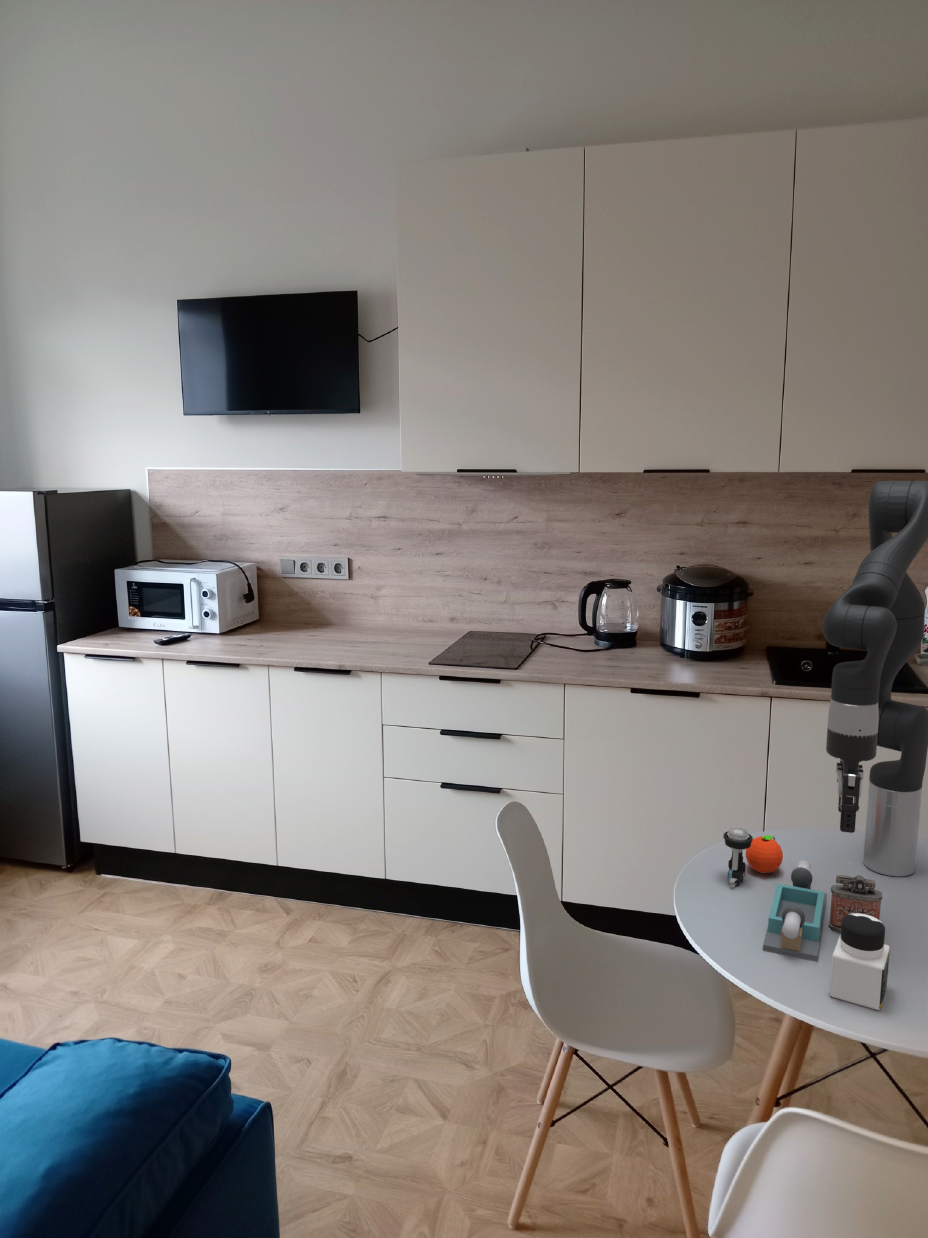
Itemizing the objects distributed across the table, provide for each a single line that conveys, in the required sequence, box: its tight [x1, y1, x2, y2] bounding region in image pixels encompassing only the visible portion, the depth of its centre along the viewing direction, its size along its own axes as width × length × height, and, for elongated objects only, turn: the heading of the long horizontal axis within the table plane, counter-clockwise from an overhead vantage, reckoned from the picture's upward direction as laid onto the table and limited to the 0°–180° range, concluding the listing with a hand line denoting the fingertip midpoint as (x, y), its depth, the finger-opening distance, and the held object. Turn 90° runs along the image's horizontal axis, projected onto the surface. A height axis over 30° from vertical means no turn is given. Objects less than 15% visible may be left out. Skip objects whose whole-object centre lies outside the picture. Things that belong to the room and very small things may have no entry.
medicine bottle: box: [829, 913, 891, 1011], centre depth 136 cm, size 7×7×12 cm
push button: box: [722, 827, 754, 888], centre depth 170 cm, size 7×5×10 cm
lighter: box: [827, 874, 883, 934], centre depth 153 cm, size 8×3×10 cm, turn 71°
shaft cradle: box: [762, 859, 828, 962], centre depth 156 cm, size 24×8×7 cm, turn 155°
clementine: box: [745, 834, 784, 874], centre depth 175 cm, size 8×7×7 cm
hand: (846, 821), depth 148 cm, fingers open, 8 cm apart
